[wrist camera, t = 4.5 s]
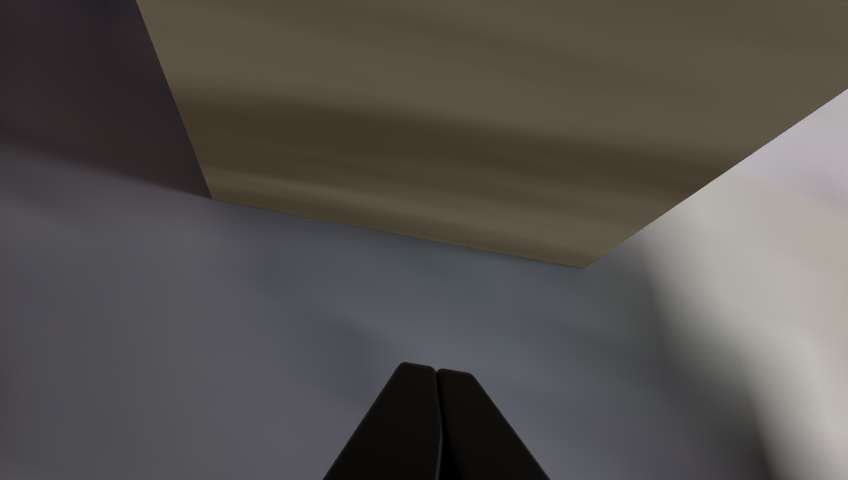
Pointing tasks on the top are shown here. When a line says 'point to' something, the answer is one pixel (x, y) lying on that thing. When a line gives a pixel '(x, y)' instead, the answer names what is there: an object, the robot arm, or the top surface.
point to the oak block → (490, 108)
